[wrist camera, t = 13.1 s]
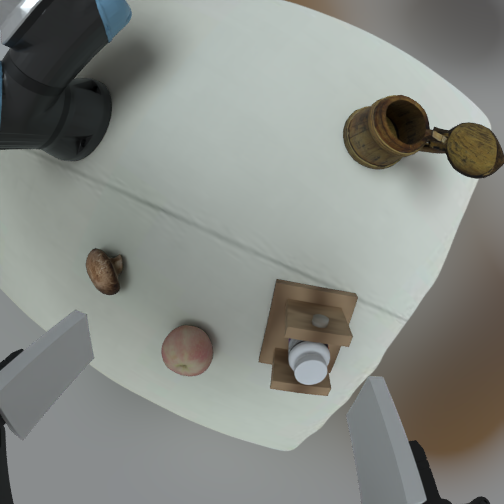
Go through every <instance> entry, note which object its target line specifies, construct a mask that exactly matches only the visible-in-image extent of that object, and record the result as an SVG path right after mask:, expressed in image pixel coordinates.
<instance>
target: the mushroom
mask: <svg viewBox="0 0 504 504" xmlns="http://www.w3.org/2000/svg"><path fill="white" fill-rule="evenodd" d="M86 268H87V273H88V275H89V277H90V279H91V281H92V282H93V284H94V286H95V287H96V288H97V289H98V290H99V291H100V292H102V293H103V294H106V295H114V294H116V293H118V292H119V290H120V284H119V281H118V277H119V274H120V273H121V272H122V269H123V263H122V257H121V255H120V254H119V255H118V256H117V257H115V258H110V257H108V256H107V255H106V254H105V253H104V252H103V251H102V250H100V249H97V248H95V249H93V250H92V251H90V253H89V255H88V257H87V260H86Z"/></svg>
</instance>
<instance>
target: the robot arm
mask: <svg viewBox="0 0 504 504" xmlns="http://www.w3.org/2000/svg"><path fill="white" fill-rule="evenodd" d="M131 16H132V12H131V9H130V7H129V5H128V4H127V2H126V1H125V0H0V30H1V43H2V44H3V45H5V46H8V47H10V49H9V51H8V52H7V54H6V55H5V57H4V58H3V60H2V61H0V150H6V149H41V150H43V151H45V152H47V153H49V154H51V155H52V156H54V157H56V158H58V159H60V160H66V161H75V160H80V159H82V158H84V157H86V156H87V155H88V154H90V153H91V152H92V151H93V150H94V149H95V148H96V146H97V145H98V144H99V142H100V141H101V139H102V138H103V136H104V134H105V132H106V129H107V127H108V124H109V120H110V116H111V97H110V93H109V91H108V89H107V88H106V86H105V85H104V84H102V83H101V82H99V81H96V80H94V79H91V78H77V79H74V78H75V76H76V75H77V74H78V73H79V72H80V71H81V70H82V69H83V67H84V66H85V65H86V64H87V63H88V62H89V61H90V60H91V59H92V58H93V57H94V56H95V55H96V54H97V53H98V52H99V51H100V50H101V49H102V48H103V47H104V46H105V45H106V44H107V43H110V42H111V41H112V38H113V37H114V36H115V35H116V34H117V33H118V32H119V31H120V30H121V29H122V28H123V27H125V26H126V25H127V24H128V22H129V21H130V19H131ZM93 359H94V355H93V349H92V344H91V338H90V332H89V326H88V319H87V314H85V313H82V312H80V311H77V310H74V311H73V312H72V313H70V314H69V315H68V316H67V317H65V318H64V319H63V320H61V321H60V322H59V323H57V324H56V325H55V326H54V327H52V328H51V329H50V330H49V331H47V332H46V333H45V334H44V335H42V336H41V337H40V338H39V339H37V340H36V341H35V342H34V343H32V344H31V345H30V346H29V347H28V348H26V349H25V350H23V349H20V350H18V351H15V352H13V353H11V354H10V355H9V356H8V357H7V358H6V359H5V360H3V361H2V362H1V363H0V504H14V503H13V499H12V494H11V488H10V482H9V475H8V466H7V456H6V439H5V428H4V426H3V425H4V424H5V423H6V424H7V425H8V427H9V428H10V430H11V431H12V432H13V433H14V434H15V435H17V436H18V437H19V438H20V439H21V440H24V439H25V438H26V436H27V435H28V434H29V433H30V431H31V430H32V429H33V427H34V426H35V425H36V424H37V423H38V422H39V420H40V419H41V418H42V417H43V416H44V414H45V413H46V412H47V411H48V410H49V409H50V407H51V406H52V405H53V404H54V403H55V401H56V400H57V399H58V398H59V397H60V396H61V395H62V393H63V392H64V391H65V390H66V389H67V388H68V387H69V385H70V384H71V383H72V382H73V381H74V380H75V379H76V378H77V376H78V375H79V374H80V373H81V372H82V371H83V370H84V369H85V368H86V366H87V365H88V364H89V363H90V362H91V361H92V360H93ZM346 417H347V422H348V427H349V432H350V437H351V442H352V448H353V453H354V459H355V465H356V470H357V476H358V483H359V490H360V496H361V504H452V503H451V502H450V501H448V500H447V499H441V497H440V495H439V493H438V490H437V487H436V484H435V480H434V478H433V475H432V472H431V469H430V468H429V463H428V461H427V460H426V458H427V457H426V455H425V452H424V449H423V448H422V447H421V446H420V444H419V443H418V442H417V441H416V440H415V441H408V439H407V436H406V434H405V431H404V428H403V426H402V423H401V420H400V418H399V415H398V413H397V410H396V407H395V405H394V402H393V400H392V397H391V395H390V392H389V390H388V388H387V385H386V383H385V380H384V378H383V377H375V376H368V378H367V380H366V382H365V384H364V386H363V387H362V389H361V391H360V393H359V395H358V396H357V398H356V400H355V401H354V403H353V405H352V406H351V408H350V410H349V412H348V413H347V415H346ZM468 504H490V502H489V501H488V500H487V499H486V498H485V497H477V498H476V499H474V500H473V501H471V502H470V503H468Z"/></svg>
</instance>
